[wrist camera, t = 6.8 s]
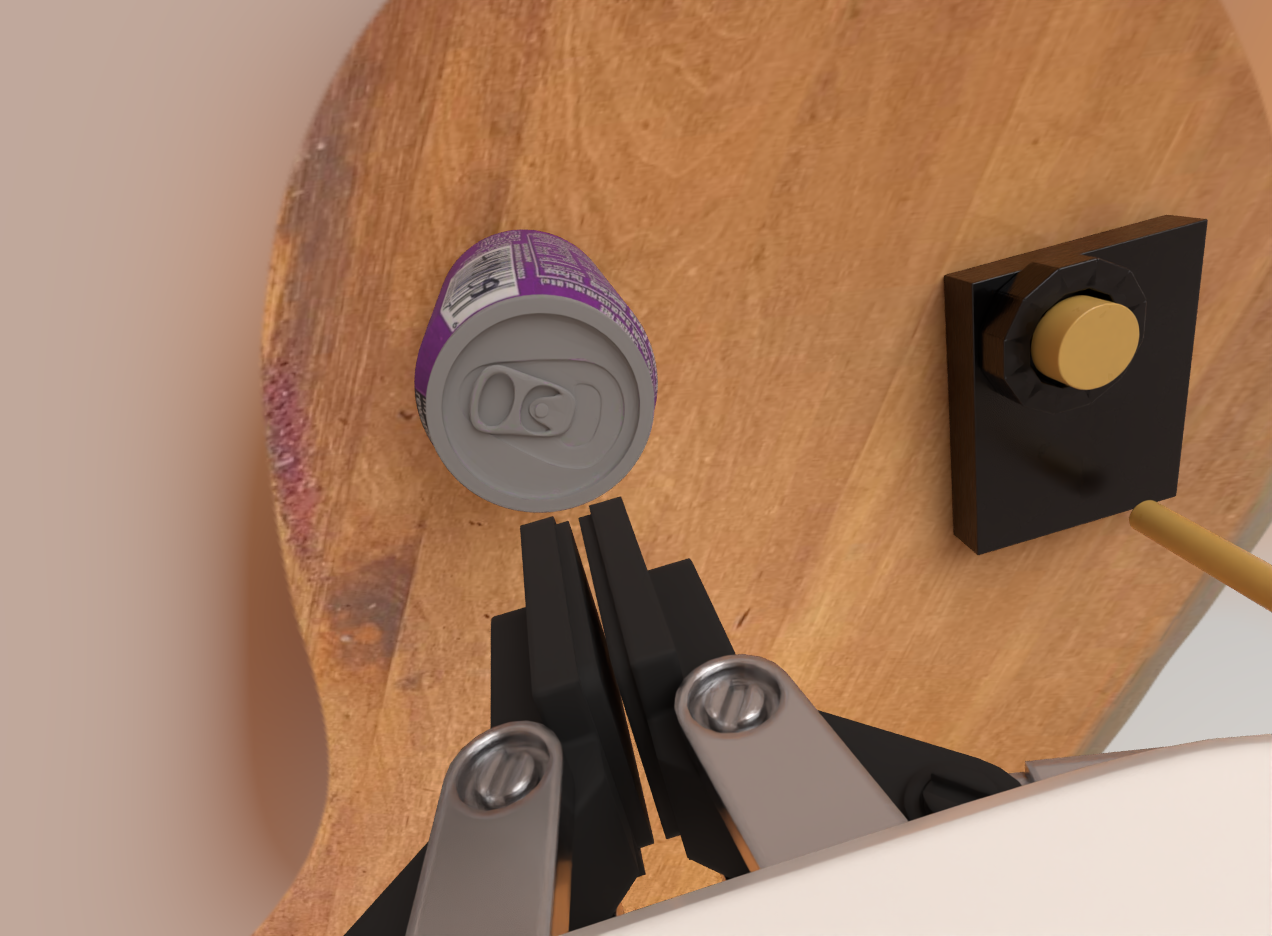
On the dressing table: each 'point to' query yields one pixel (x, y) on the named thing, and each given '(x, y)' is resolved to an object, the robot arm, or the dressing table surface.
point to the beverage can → (534, 375)
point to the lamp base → (1057, 413)
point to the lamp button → (1085, 341)
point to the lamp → (1205, 551)
